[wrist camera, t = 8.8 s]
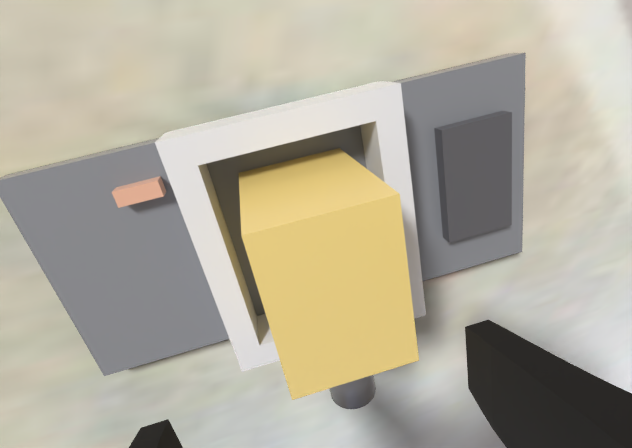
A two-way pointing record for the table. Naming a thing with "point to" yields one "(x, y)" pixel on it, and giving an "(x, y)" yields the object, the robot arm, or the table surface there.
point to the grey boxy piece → (224, 207)
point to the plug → (330, 272)
